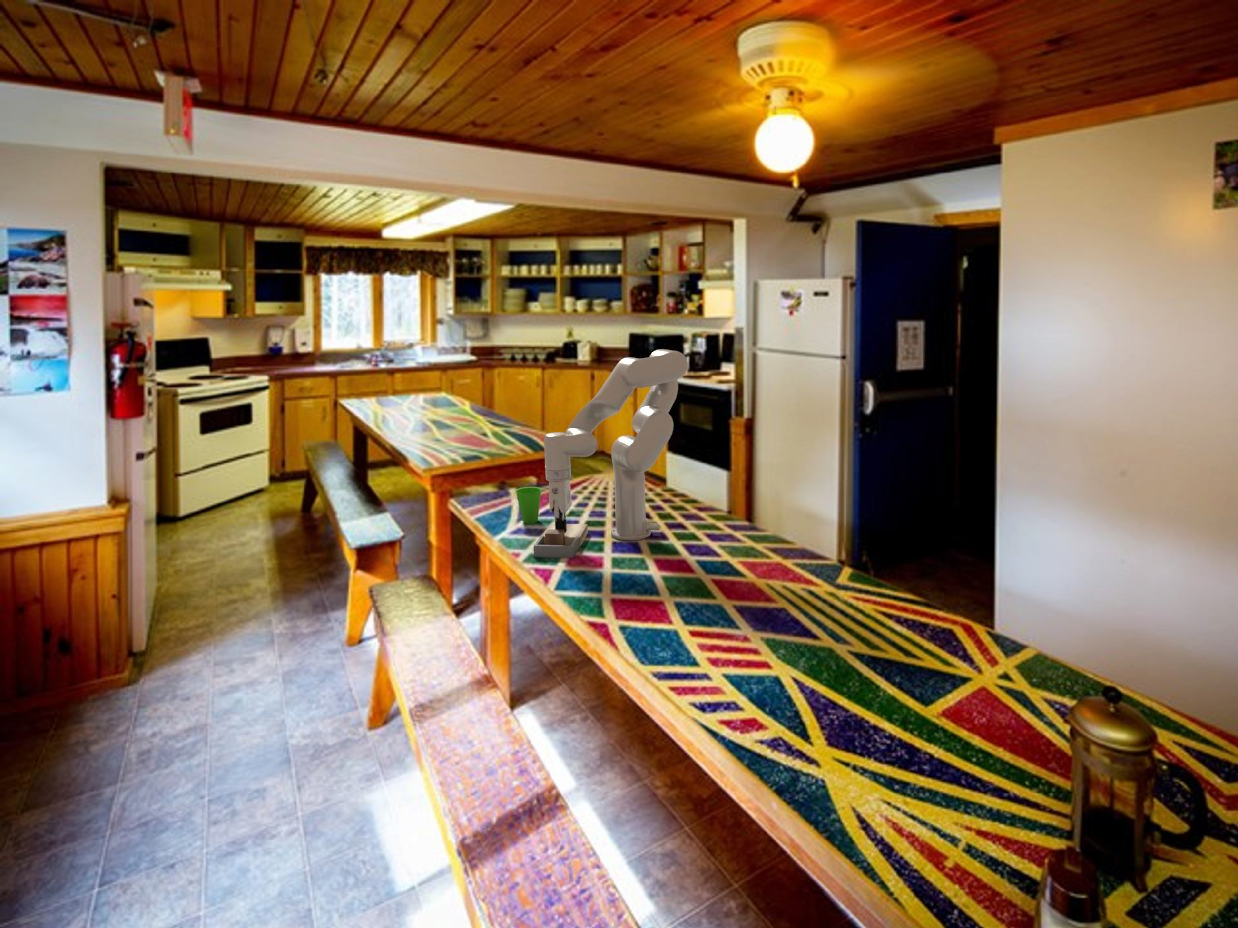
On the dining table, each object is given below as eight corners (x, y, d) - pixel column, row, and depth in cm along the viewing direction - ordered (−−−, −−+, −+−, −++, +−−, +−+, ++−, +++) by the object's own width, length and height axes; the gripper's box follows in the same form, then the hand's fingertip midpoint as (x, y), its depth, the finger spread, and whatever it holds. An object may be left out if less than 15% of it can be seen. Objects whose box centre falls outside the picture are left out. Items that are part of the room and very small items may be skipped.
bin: (579, 547, 217) (578, 536, 217) (573, 557, 208) (572, 546, 208) (541, 546, 219) (541, 535, 218) (534, 556, 210) (533, 545, 209)
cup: (532, 526, 238) (530, 494, 236) (511, 523, 243) (509, 491, 240) (548, 519, 246) (547, 488, 243) (528, 516, 250) (526, 485, 248)
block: (564, 529, 216) (561, 533, 212) (564, 545, 217) (561, 549, 214) (548, 529, 217) (544, 533, 213) (548, 544, 218) (545, 549, 214)
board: (587, 533, 230) (587, 524, 229) (580, 546, 218) (579, 537, 217) (551, 532, 232) (550, 523, 231) (541, 545, 219) (540, 536, 219)
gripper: (565, 480, 207) (568, 540, 211) (575, 468, 222) (577, 525, 226) (540, 480, 208) (543, 540, 212) (551, 468, 223) (554, 524, 227)
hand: (561, 532), depth 219 cm, fingers closed
